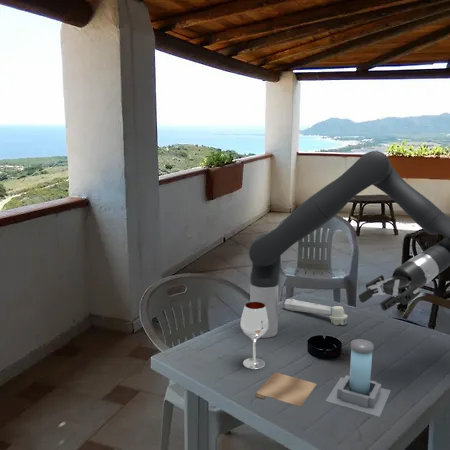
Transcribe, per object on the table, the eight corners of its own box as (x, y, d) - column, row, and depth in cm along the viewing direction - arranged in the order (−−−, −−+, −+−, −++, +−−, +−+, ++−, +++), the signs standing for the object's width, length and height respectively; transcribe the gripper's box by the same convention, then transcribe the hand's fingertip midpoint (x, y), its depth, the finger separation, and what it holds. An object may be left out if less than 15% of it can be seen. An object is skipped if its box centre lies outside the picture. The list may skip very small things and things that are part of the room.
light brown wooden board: (255, 396, 119) (255, 392, 119) (275, 375, 129) (275, 372, 129) (300, 410, 113) (300, 406, 113) (316, 387, 123) (316, 383, 123)
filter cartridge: (345, 397, 117) (348, 345, 114) (351, 387, 121) (354, 337, 118) (367, 403, 114) (370, 350, 111) (372, 393, 119) (375, 342, 116)
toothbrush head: (288, 296, 180) (349, 303, 164) (290, 313, 181) (350, 321, 164) (281, 300, 176) (342, 307, 160) (282, 317, 177) (343, 326, 160)
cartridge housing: (325, 404, 115) (326, 391, 115) (340, 380, 127) (341, 368, 126) (379, 420, 109) (380, 406, 108) (390, 394, 120) (391, 381, 119)
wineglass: (271, 359, 138) (272, 302, 135) (264, 373, 131) (265, 312, 127) (244, 355, 141) (245, 298, 137) (236, 368, 133) (236, 308, 130)
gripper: (392, 256, 130) (348, 285, 126) (432, 264, 117) (385, 297, 112) (401, 279, 132) (358, 308, 127) (441, 290, 119) (394, 323, 114)
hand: (370, 303), depth 120 cm, fingers open, 8 cm apart
